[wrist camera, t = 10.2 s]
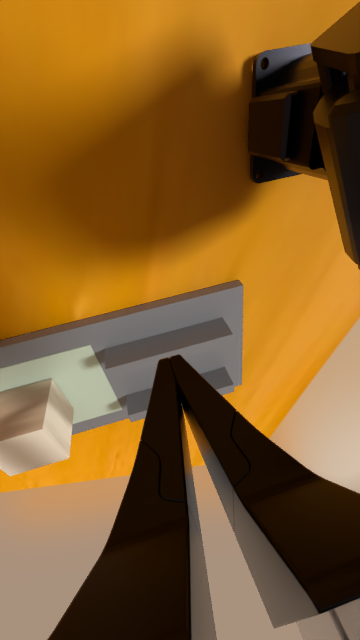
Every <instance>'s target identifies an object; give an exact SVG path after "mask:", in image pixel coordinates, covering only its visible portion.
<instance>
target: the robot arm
mask: <svg viewBox="0 0 360 640" xmlns="http://www.w3.org/2000/svg"><path fill="white" fill-rule="evenodd" d="M262 59H264V60H265V63H266V65H265V68H264V70H262V68H261V65H260V64H261V60H262ZM248 151H249V153H250V154H251V161H250V178H251V180H252V181H253V182H255V183H262V182H267V181H272V180H276V179H281V178H285V177H290V176H295V175H299V174H306V175H309V176H313V177H317V178H321V179H325V180H328V182H329V186H330V191H331V195H332V199H333V203H334V207H335V212H336V216H337V220H338V224H339V229H340V233H341V237H342V241H343V245H344V250H345V252H346V254H347V255H348V256H349V257H350V258H351V259H352V260H353V261H354V262H355V263H356V264H358V268H359V269H360V2H359V3H358V4H356V5H355V6H354V7H353V8H352V9H351V10H349V11H348V12H347V13H346V14H345V15H344V16H343V17H341V18H340V19H339V20H338V21H337V22H336V23H334V24H333V25H332V26H331V27H330V28H329V29H327V30H326V31H325V32H324V33H323V34H322V35H321V36H319V37H318V38H317V39H316V40H315V41H314V42H313V43H310V44H304V45H298V46H292V47H286V48H279V49H273V50H267V51H264V52H262V53H259V54H258V55H257V56H256V58H255V60H254V63H253V86H252V100H251V101H250V103H249V131H248ZM259 171H260V176H259V177H258V178H256V174H257V172H259ZM182 407H183V408H182ZM183 410H184V413H185V416H186V418H187V421H188V423H189V425H190V428H191V430H192V433H193V435H194V437H195V440H196V442H197V445H198V447H199V449H200V452H201V454H202V457H203V459H204V461H205V464H206V466H207V469H208V471H209V473H210V476H211V478H212V481H213V483H214V485H215V488H216V490H217V493H218V495H219V497H220V500H221V502H222V505H223V507H224V509H225V512H226V514H227V517H228V519H229V521H230V524H231V526H232V529H233V531H234V533H235V536H236V538H237V541H238V543H239V546H240V548H241V550H242V553H243V555H244V558H245V560H246V562H247V565H248V567H249V570H250V572H251V574H252V577H253V579H254V581H255V584H256V586H257V589H258V591H259V594H260V596H261V598H262V601H263V603H264V605H265V608H266V610H267V613H268V615H269V618H270V620H271V622H272V625H273V627H274V628H277V627H280V626H283V625H287V624H290V623H293V622H297V625H298V627H299V630H300V633H301V635H302V638H303V640H360V494H359V493H357V492H355V491H352V490H349V489H347V488H345V487H343V486H340V485H338V484H335V483H333V482H331V481H328V480H326V479H324V478H322V477H320V476H318V475H316V474H315V473H313V472H312V471H310V470H309V469H307V468H306V467H304V466H303V465H302V464H300V463H299V462H298V461H297V460H295V459H294V458H293V457H292V456H290V455H289V454H288V453H286V452H285V451H284V450H283V449H281V448H280V447H279V446H277V445H276V444H275V443H273V442H272V441H271V440H270V439H268V438H267V437H266V436H265V435H264V434H262V433H261V432H260V431H259V430H257V429H256V428H255V427H254V426H253V425H252V424H251V423H250V422H249V421H248V420H246V419H245V418H244V417H243V416H242V415H241V414H240V413H239V412H238V411H236V409H235V408H234V407H233V406H232V405H231V404H230V403H229V402H228V401H227V400H226V399H225V398H224V397H223V396H222V395H221V394H220V393H219V392H218V391H217V390H216V389H215V388H214V387H213V386H212V385H211V384H210V383H208V382H207V381H206V380H205V379H204V378H203V377H202V376H201V375H200V374H199V373H198V372H197V371H196V370H195V369H194V368H193V367H192V366H191V365H190V364H189V363H188V362H187V361H186V360H185V359H184V358H183V357H182V356H181V355H179V354H177V355H174V356H170V359H169V358H168V357H166V358H163V359H160V360H159V361H158V364H157V369H156V373H155V377H154V382H153V386H152V391H151V395H150V399H149V404H148V408H147V412H146V417H145V421H144V426H143V430H142V434H141V441H140V443H139V447H138V451H137V455H136V459H135V463H134V467H133V470H132V473H131V476H130V479H129V483H128V485H127V488H126V491H125V494H124V497H123V499H122V502H121V505H120V508H119V511H118V514H117V516H116V519H115V522H114V525H113V528H112V530H111V533H110V536H109V538H108V541H107V543H106V545H105V547H104V549H103V551H102V553H101V555H100V557H99V559H98V560H97V562H96V564H95V565H94V567H93V568H92V570H91V572H90V573H89V575H88V576H87V578H86V580H85V581H84V583H83V584H82V586H81V588H80V589H79V591H78V592H77V594H76V596H75V597H74V599H73V601H72V602H71V604H70V605H69V607H68V608H67V610H66V612H65V613H64V615H63V617H62V618H61V620H60V621H59V623H58V625H57V626H56V628H55V630H54V631H53V632H52V634H51V635H50V637H49V638H48V639H47V640H217V638H216V631H215V624H214V617H213V611H212V604H211V597H210V590H209V583H208V577H207V570H206V563H205V556H204V549H203V542H202V535H201V529H200V522H199V515H198V508H197V501H196V494H195V488H194V481H193V474H192V467H191V460H190V453H189V446H188V440H187V433H186V426H185V419H184V413H183Z"/></svg>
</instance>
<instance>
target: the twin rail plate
mask: <svg viewBox="0 0 360 640" xmlns="http://www.w3.org/2000/svg"><path fill="white" fill-rule="evenodd" d="M242 333H243V284H242V283H241V282H240V281H239V280H236V281H232V282H228V283H224V284H220V285H216V286H212V287H208V288H205V289H201V290H197V291H193V292H189V293H185V294H181V295H177V296H173V297H169V298H165V299H161V300H157V301H153V302H149V303H146V304H142V305H138V306H134V307H130V308H126V309H122V310H118V311H114V312H110V313H106V314H102V315H98V316H94V317H90V318H86V319H83V320H79V321H75V322H71V323H67V324H63V325H59V326H55V327H51V328H47V329H43V330H39V331H35V332H31V333H27V334H24V335H20V336H16V337H12V338H8V339H4V340H0V392H3V391H7V390H11V389H14V388H18V387H22V386H25V385H29V384H33V383H36V382H40V381H44V380H47V379H51V378H52V379H53V380H54V382H55V383H56V385H57V386H58V387H59V389H60V390H61V392H62V393H63V394H64V396H65V397H66V399H67V400H68V401H69V403H70V404H71V406H72V407H73V408H74V414H73V424H72V435H73V434H76V433H80V432H83V431H87V430H90V429H93V428H97V427H100V426H103V425H107V424H110V423H114V422H117V421H120V420H124V419H127V418H129V419H130V421H131V422H133V421H137V420H140V419H144V418H145V417H146V412H147V408H148V404H149V399H150V395H151V391H152V386H153V382H154V377H155V373H156V369H157V364H158V361H159V360H160V359H163V358H166V357H168V358H169V359H170V356H174V355H177V354H179V355H181V356H182V357H183V358H184V359H185V360H186V361H187V362H188V363H189V364H190V365H191V366H192V367H193V368H194V369H195V370H196V371H197V372H198V373H199V374H200V375H201V376H202V377H203V378H204V379H205V380H206V381H207V382H208V383H210V384H211V385H212V386H213V387H214V388H215V389H216V390H217V391H218V392H219V393H220V394H221V395H224V394H227V393H231V392H234V387H235V386H238V385H242Z"/></svg>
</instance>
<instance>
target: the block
mask: <svg viewBox="0 0 360 640" xmlns="http://www.w3.org/2000/svg"><path fill="white" fill-rule="evenodd" d="M73 414H74V408H73V407H72V406H71V404H70V403H69V401H68V400H67V399H66V397H65V396H64V394H63V393H62V392H61V390H60V389H59V387H58V386H57V385H56V383H55V382H54V380H53V379H52V378H51V379H47V380H44V381H40V382H36V383H33V384H29V385H25V386H22V387H18V388H14V389H11V390H7V391H3V392H0V469H1V470H2V471H4V472H5V473H7V474H8V475H9V476H13V475H16V474H19V473H22V472H26V471H29V470H32V469H35V468H39V467H42V466H45V465H49V464H52V463H55V462H58V461H62V460H65V459H68V458H69V456H70V446H71V435H72V424H73Z"/></svg>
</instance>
